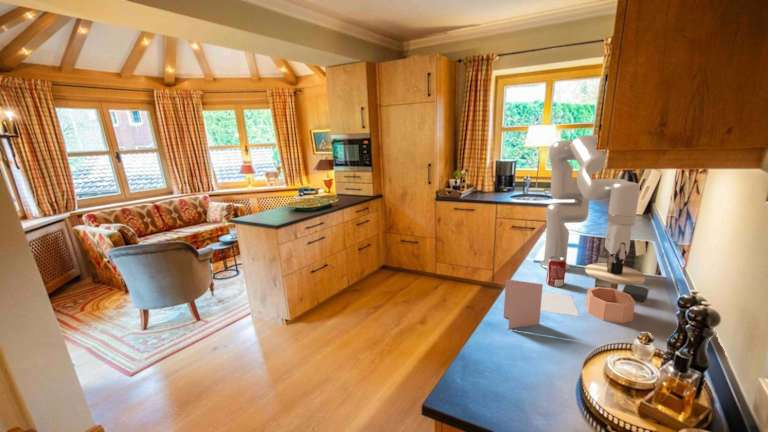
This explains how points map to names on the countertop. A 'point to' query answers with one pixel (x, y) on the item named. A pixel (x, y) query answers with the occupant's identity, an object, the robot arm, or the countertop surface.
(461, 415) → the countertop surface
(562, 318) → the countertop surface
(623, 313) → the bowl
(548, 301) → the mat
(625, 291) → the phone
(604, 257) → the coffee box
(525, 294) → the greeting card
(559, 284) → the soda can
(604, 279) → the lid
